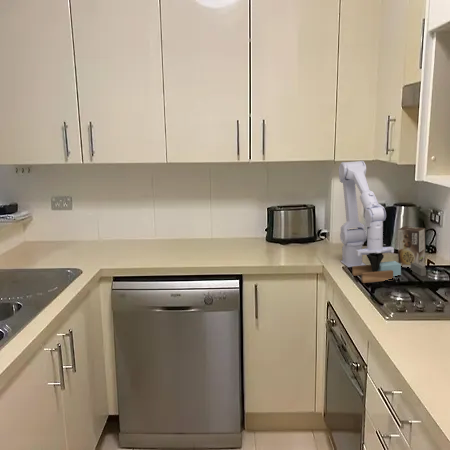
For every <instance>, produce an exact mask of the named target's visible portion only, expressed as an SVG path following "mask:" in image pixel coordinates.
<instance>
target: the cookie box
mask: <svg viewBox="0 0 450 450" xmlns="http://www.w3.org/2000/svg"><path fill="white" fill-rule="evenodd" d="M397 234H398V235H397V240H398V241H397V245H398V246H397V248H398V250H397V259H398V260H397V262H398V263H400V264H401V266H402V267H401V268H407V267H409V268H408V269H411V263H417V264H419V265H421V266H423V267H426V228H425V227H416V226H415V227H414V226H405V225H404V226H402V227H401V228H398V229H397Z"/></svg>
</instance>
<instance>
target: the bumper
mask: <svg viewBox="0 0 450 450" xmlns="http://www.w3.org/2000/svg"><path fill="white" fill-rule="evenodd" d="M411 270H412V272H413V273H415V274H417V275H418V276H420V277H424V276H427V268H426V266H424V267H423V266H421V265H419V264H417V263H411V268H410V271H411Z"/></svg>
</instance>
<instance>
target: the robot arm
mask: <svg viewBox="0 0 450 450" xmlns="http://www.w3.org/2000/svg"><path fill="white" fill-rule="evenodd" d="M366 175H367V165H366V163H365V161H364V160H358V161H357V160H356V161H347V162H346V161H342V162H341V163H340V164H339V166H338V177H339V178H338V179H339V182H340V183H342V185H343V186H342V187H343V188H342V189H343V198H344V199H343V200H344V208H345V219H346V221H345V223H343V225H341V227H340V234H339V237H340V241H341V243H342V244H343V245H342V247H341V248H342V249H341V251H342V252H341V253H342V256H341V257H342V260H340V261H339V262H340V263H342V265H345V266H346V267H347V268H352V266H362V265H367V264H366V263H364V262H363V256H366V257H367V259H368V261H369V263H370V264H369V265H371V267H372V271H373V272H377V271H378V268H379V265H380V262H383V259H384V256H385V255H384V254H386V253H387V254H388V253H391V254H392V253H393V254H394V252H395V248H394V247H393V246H384V242H383V241H384V240H383V238H384V235H383V234H384V233H383V232H384V221H386V218H387V212H386V209H385V207H384V206H383V205H382V204H380V203H379V200H378V198H377V197H376V194H375V192H374V191H372V190H370V187H369V184H368V179H367V177H366ZM356 187H357V189H358V191H359V193H360V196H359V199H360V202H361V204H362V207H363V210H364V214H363V217H364V220H365V225H364V223H362V222H361V221H359V211H358V210H359V209H358V201H357V200H358V199H357V190H356ZM365 226H366V227H367V228H365ZM366 229H367V230H366ZM366 241H367V243H366V248H363V245H364V243H365V242H366Z"/></svg>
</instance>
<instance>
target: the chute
mask: <svg viewBox="0 0 450 450" xmlns="http://www.w3.org/2000/svg"><path fill="white" fill-rule="evenodd" d="M351 268H352V269H351V271H352V272H351V273H352V274H351V275H352V276H353V277H354V276H361V283H362V284H366V283H376V282H377V283H378V282H384V281H385V280H388V279H392V278H393V279H394V277H393V271H392V270H387V271H377V272H373V271H372V267H371V264H366V265H362V266H352V267H351ZM388 281H389V280H388ZM385 282H386V281H385Z"/></svg>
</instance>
